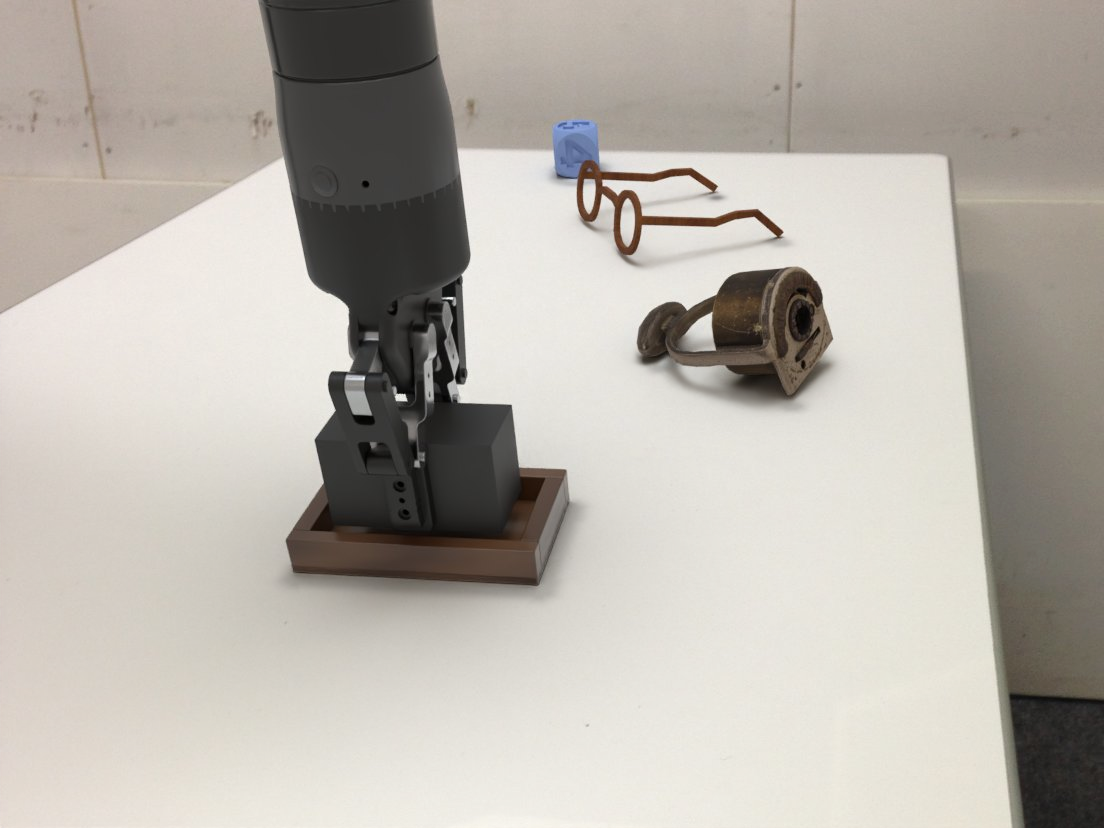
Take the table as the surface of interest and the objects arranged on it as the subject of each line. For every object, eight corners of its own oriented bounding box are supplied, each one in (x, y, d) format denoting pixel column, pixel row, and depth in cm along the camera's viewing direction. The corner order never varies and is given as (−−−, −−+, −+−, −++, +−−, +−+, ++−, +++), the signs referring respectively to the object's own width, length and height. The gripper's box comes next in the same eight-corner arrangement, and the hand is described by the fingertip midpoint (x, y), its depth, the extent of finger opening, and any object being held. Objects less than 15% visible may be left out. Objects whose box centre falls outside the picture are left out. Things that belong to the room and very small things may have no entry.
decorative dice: (600, 176, 115) (597, 130, 113) (555, 179, 115) (552, 133, 113) (599, 163, 118) (596, 117, 116) (556, 165, 118) (552, 120, 116)
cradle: (292, 572, 66) (284, 539, 65) (345, 490, 72) (338, 459, 71) (538, 585, 64) (534, 552, 63) (570, 500, 71) (567, 468, 69)
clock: (522, 487, 68) (512, 402, 65) (502, 533, 65) (491, 445, 62) (361, 481, 70) (344, 397, 67) (332, 525, 66) (313, 439, 63)
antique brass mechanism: (731, 344, 73) (861, 264, 76) (602, 261, 81) (725, 192, 84) (744, 440, 78) (865, 362, 81) (622, 354, 86) (736, 285, 89)
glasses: (574, 216, 107) (569, 155, 104) (716, 190, 111) (715, 130, 108) (632, 268, 97) (629, 202, 94) (786, 238, 101) (787, 173, 98)
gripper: (408, 227, 50) (463, 583, 61) (495, 123, 62) (529, 438, 72) (229, 225, 52) (313, 575, 62) (346, 123, 63) (401, 434, 73)
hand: (429, 500), depth 67 cm, fingers closed on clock, 4 cm apart
